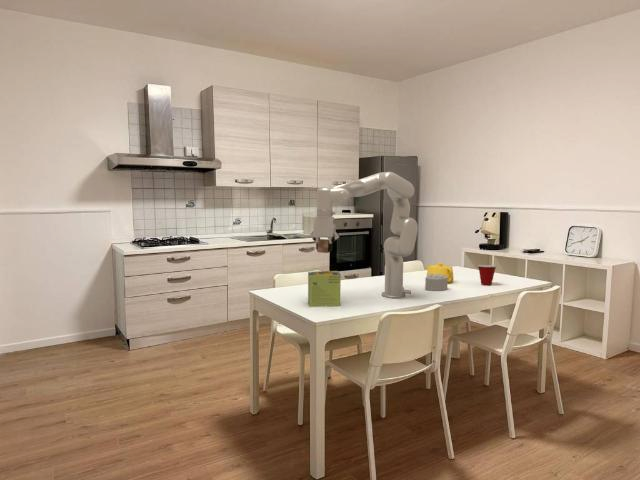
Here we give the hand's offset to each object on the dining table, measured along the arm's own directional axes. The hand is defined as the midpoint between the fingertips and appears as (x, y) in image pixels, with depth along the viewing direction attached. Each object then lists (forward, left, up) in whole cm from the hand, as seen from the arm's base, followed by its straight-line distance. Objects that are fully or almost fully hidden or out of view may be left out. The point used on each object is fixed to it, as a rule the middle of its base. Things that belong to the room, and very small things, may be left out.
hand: (324, 251), depth 214 cm
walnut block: (0, 0, -1) cm, 1 cm away
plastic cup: (-79, -79, -26) cm, 115 cm away
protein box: (0, 0, -26) cm, 26 cm away
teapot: (-51, -80, -26) cm, 99 cm away
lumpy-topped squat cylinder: (-50, -54, -26) cm, 79 cm away
